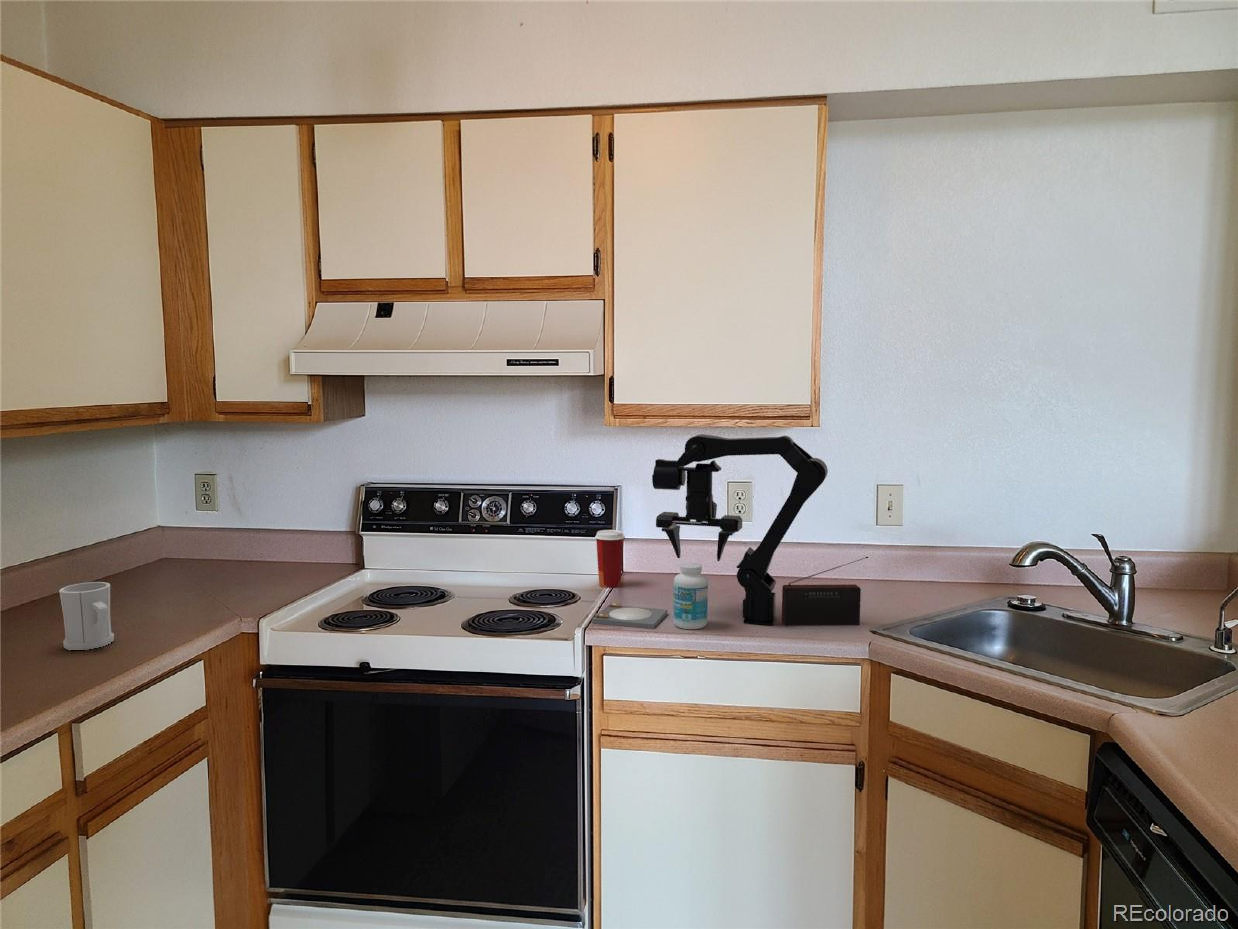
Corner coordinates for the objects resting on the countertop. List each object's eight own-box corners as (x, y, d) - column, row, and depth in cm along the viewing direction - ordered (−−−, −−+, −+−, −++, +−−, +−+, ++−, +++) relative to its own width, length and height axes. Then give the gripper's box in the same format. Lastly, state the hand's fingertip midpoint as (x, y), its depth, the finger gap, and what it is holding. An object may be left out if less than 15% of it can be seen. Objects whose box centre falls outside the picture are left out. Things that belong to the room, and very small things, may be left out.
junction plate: (667, 613, 196) (667, 606, 196) (653, 628, 185) (653, 620, 185) (609, 608, 200) (609, 601, 200) (592, 623, 189) (592, 615, 189)
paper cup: (630, 584, 223) (630, 531, 222) (613, 590, 217) (613, 536, 216) (605, 580, 228) (605, 528, 226) (588, 586, 221) (588, 532, 220)
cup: (131, 637, 179) (127, 581, 178) (106, 651, 170) (102, 592, 169) (80, 638, 179) (76, 581, 178) (52, 652, 170) (48, 593, 169)
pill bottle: (666, 624, 188) (666, 564, 186) (690, 618, 193) (690, 559, 191) (690, 632, 182) (690, 570, 181) (714, 626, 187) (715, 565, 185)
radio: (784, 626, 187) (786, 559, 185) (781, 622, 190) (783, 556, 188) (869, 626, 187) (871, 558, 185) (865, 622, 190) (867, 555, 188)
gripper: (747, 488, 196) (746, 555, 198) (668, 484, 202) (668, 549, 204) (737, 494, 186) (736, 565, 188) (655, 490, 192) (655, 559, 194)
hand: (698, 559), depth 193 cm, fingers open, 9 cm apart
